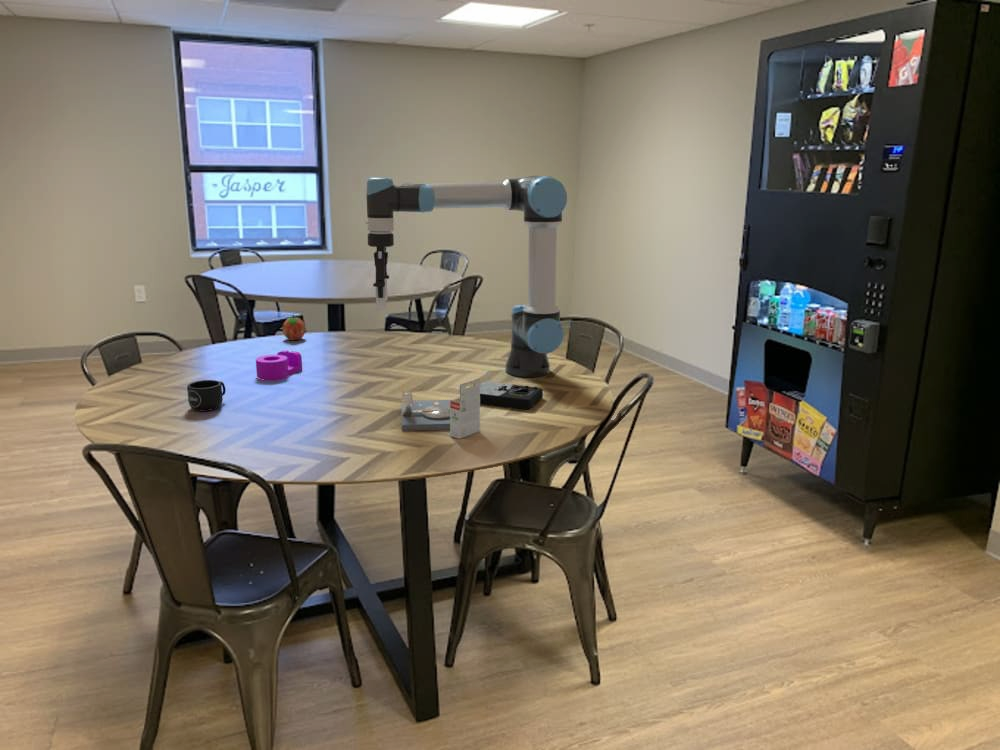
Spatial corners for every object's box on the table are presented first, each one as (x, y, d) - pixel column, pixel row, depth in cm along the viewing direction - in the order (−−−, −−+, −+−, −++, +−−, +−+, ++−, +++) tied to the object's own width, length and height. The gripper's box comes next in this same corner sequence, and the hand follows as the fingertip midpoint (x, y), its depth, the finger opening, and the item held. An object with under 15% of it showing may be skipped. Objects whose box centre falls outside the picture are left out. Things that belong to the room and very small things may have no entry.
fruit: (279, 341, 294) (277, 316, 291) (289, 336, 303) (288, 311, 301) (300, 342, 293) (298, 317, 290) (310, 337, 302) (308, 312, 299)
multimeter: (529, 412, 217) (530, 395, 215) (467, 404, 223) (467, 388, 222) (543, 399, 228) (543, 383, 227) (484, 392, 235) (484, 376, 233)
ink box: (449, 436, 195) (449, 382, 191) (470, 428, 201) (470, 376, 197) (459, 439, 193) (459, 385, 189) (480, 432, 199) (481, 378, 195)
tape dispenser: (277, 382, 241) (276, 363, 239) (250, 379, 243) (249, 360, 242) (304, 370, 255) (303, 352, 254) (278, 367, 258) (277, 349, 256)
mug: (206, 415, 208) (204, 390, 206) (182, 410, 212) (179, 385, 210) (237, 403, 219) (235, 379, 217) (214, 399, 222) (212, 375, 220)
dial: (453, 408, 212) (453, 387, 210) (456, 419, 203) (456, 397, 202) (401, 410, 210) (401, 388, 208) (402, 420, 201) (401, 398, 200)
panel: (470, 404, 221) (470, 398, 221) (477, 428, 201) (477, 422, 201) (401, 406, 219) (401, 400, 218) (402, 430, 198) (402, 424, 198)
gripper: (370, 228, 232) (371, 297, 237) (364, 236, 208) (366, 312, 213) (394, 229, 232) (395, 297, 238) (392, 236, 208) (393, 312, 214)
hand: (381, 304), depth 226 cm, fingers open, 13 cm apart
